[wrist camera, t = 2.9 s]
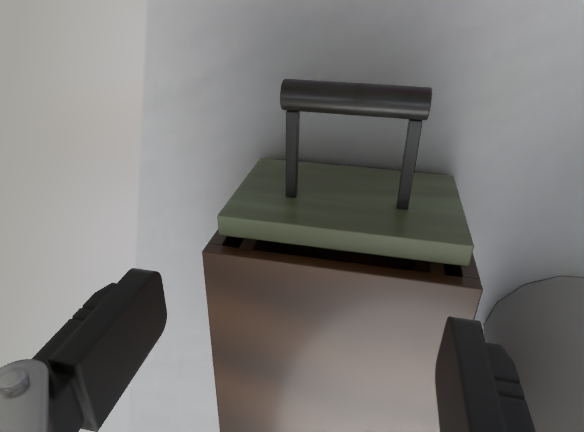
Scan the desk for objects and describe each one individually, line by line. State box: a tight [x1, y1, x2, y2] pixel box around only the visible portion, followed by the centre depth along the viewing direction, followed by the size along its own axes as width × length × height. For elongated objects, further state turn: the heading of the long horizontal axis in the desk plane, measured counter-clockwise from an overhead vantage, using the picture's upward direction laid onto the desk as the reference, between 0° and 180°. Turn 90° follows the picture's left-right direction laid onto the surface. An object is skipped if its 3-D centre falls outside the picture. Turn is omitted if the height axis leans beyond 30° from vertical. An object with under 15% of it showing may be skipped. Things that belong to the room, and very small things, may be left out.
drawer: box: [218, 79, 474, 275], centre depth 27 cm, size 22×12×8 cm, turn 179°
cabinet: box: [202, 229, 483, 432], centre depth 29 cm, size 17×14×10 cm
